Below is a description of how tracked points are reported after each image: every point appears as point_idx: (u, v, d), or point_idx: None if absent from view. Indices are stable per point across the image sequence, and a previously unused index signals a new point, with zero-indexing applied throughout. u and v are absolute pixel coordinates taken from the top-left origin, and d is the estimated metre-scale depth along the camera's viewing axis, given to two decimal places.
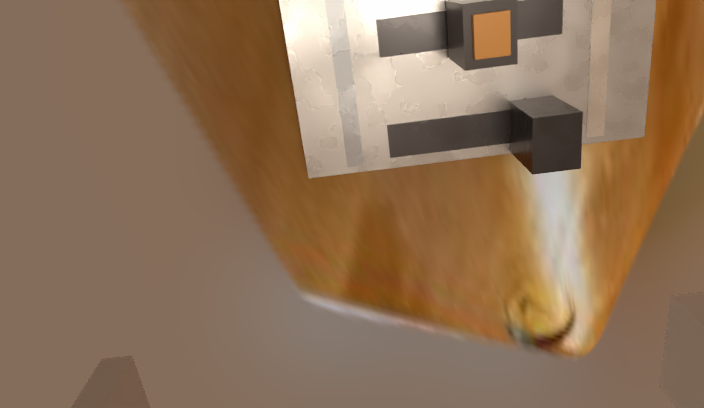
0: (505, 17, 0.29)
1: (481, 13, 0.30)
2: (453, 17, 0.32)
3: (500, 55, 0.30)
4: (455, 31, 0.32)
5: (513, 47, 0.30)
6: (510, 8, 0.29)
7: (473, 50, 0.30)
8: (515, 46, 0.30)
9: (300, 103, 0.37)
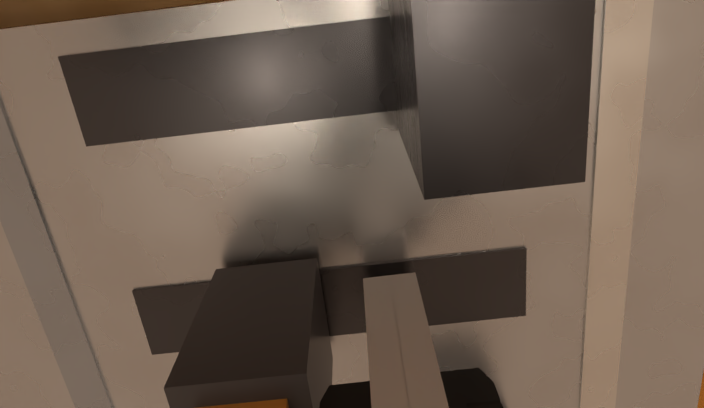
0: None
1: (218, 405, 0.11)
2: None
3: None
4: None
5: None
6: (292, 395, 0.11)
7: None
8: None
9: None
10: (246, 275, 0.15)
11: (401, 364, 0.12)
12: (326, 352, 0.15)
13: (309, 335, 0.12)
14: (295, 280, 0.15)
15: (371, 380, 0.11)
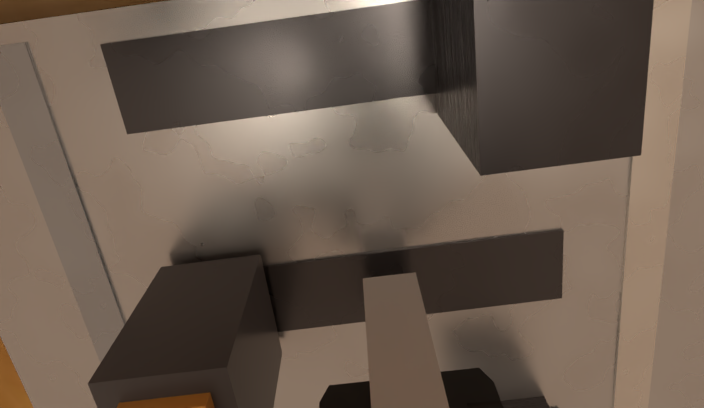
0: None
1: (142, 399, 0.12)
2: None
3: None
4: None
5: None
6: (215, 389, 0.12)
7: None
8: None
9: None
10: (189, 272, 0.15)
11: (401, 364, 0.12)
12: (269, 347, 0.16)
13: (237, 330, 0.12)
14: (234, 277, 0.15)
15: (371, 380, 0.11)
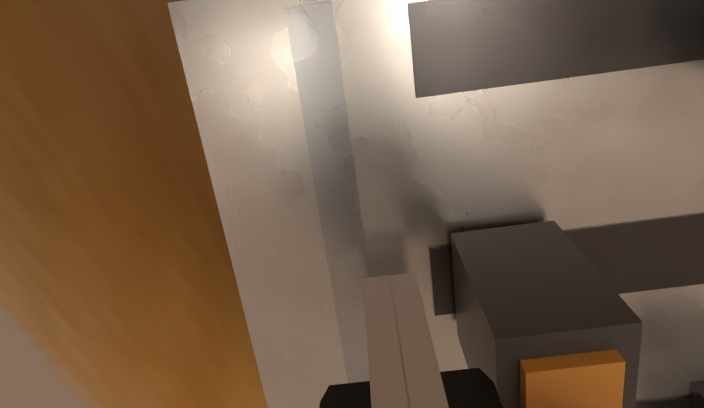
0: (610, 376, 0.11)
1: (544, 357, 0.11)
2: (468, 301, 0.14)
3: None
4: (473, 336, 0.14)
5: None
6: (622, 346, 0.11)
7: None
8: None
9: (272, 390, 0.18)
10: (490, 238, 0.15)
11: (401, 364, 0.12)
12: None
13: (612, 289, 0.12)
14: (549, 241, 0.14)
15: (371, 380, 0.11)
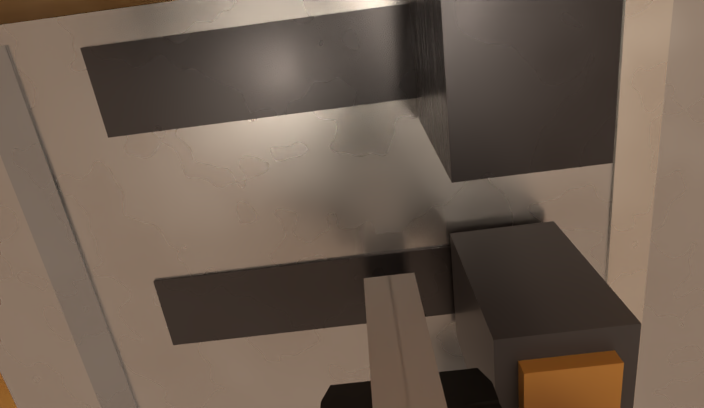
0: (608, 377, 0.11)
1: (543, 357, 0.11)
2: (467, 302, 0.14)
3: None
4: (472, 336, 0.14)
5: None
6: (621, 347, 0.11)
7: None
8: None
9: None
10: (489, 238, 0.15)
11: (399, 364, 0.12)
12: None
13: (611, 290, 0.12)
14: (549, 241, 0.14)
15: (372, 380, 0.11)
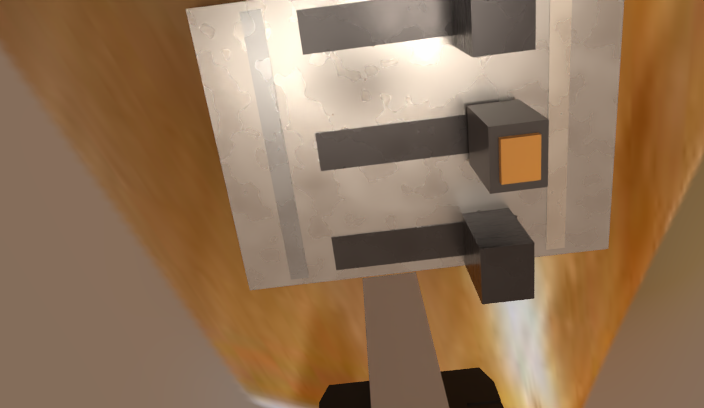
0: (535, 141, 0.27)
1: (509, 136, 0.27)
2: (476, 129, 0.30)
3: (529, 180, 0.27)
4: (478, 145, 0.29)
5: (543, 170, 0.28)
6: (541, 131, 0.27)
7: (499, 173, 0.28)
8: (545, 169, 0.28)
9: (237, 215, 0.34)
10: (486, 105, 0.31)
11: (401, 364, 0.12)
12: None
13: (539, 113, 0.28)
14: (515, 104, 0.30)
15: (371, 380, 0.11)
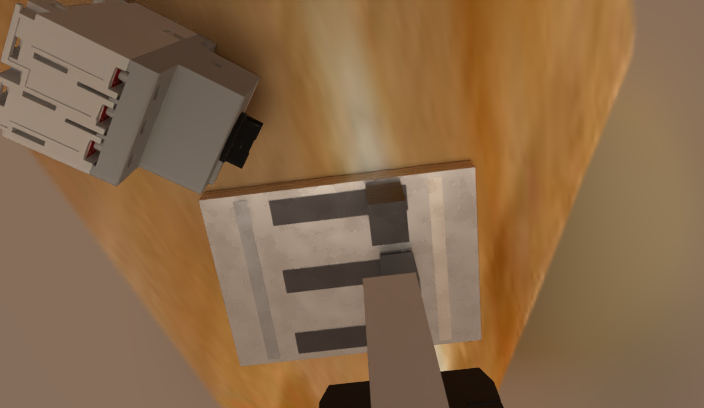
0: None
1: None
2: None
3: None
4: None
5: None
6: None
7: None
8: None
9: (232, 320, 0.51)
10: (391, 257, 0.48)
11: (401, 364, 0.12)
12: None
13: (417, 272, 0.45)
14: (408, 258, 0.47)
15: (371, 380, 0.11)
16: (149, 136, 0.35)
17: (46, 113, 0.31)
